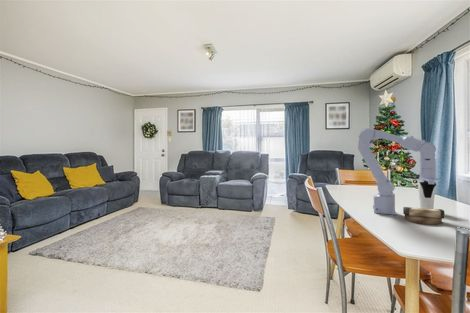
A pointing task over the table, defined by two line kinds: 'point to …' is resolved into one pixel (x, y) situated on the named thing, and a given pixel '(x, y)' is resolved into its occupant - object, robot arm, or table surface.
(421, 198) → the drinking glass
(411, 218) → the stool seat
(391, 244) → the table surface
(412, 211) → the folding leg
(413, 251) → the table surface
